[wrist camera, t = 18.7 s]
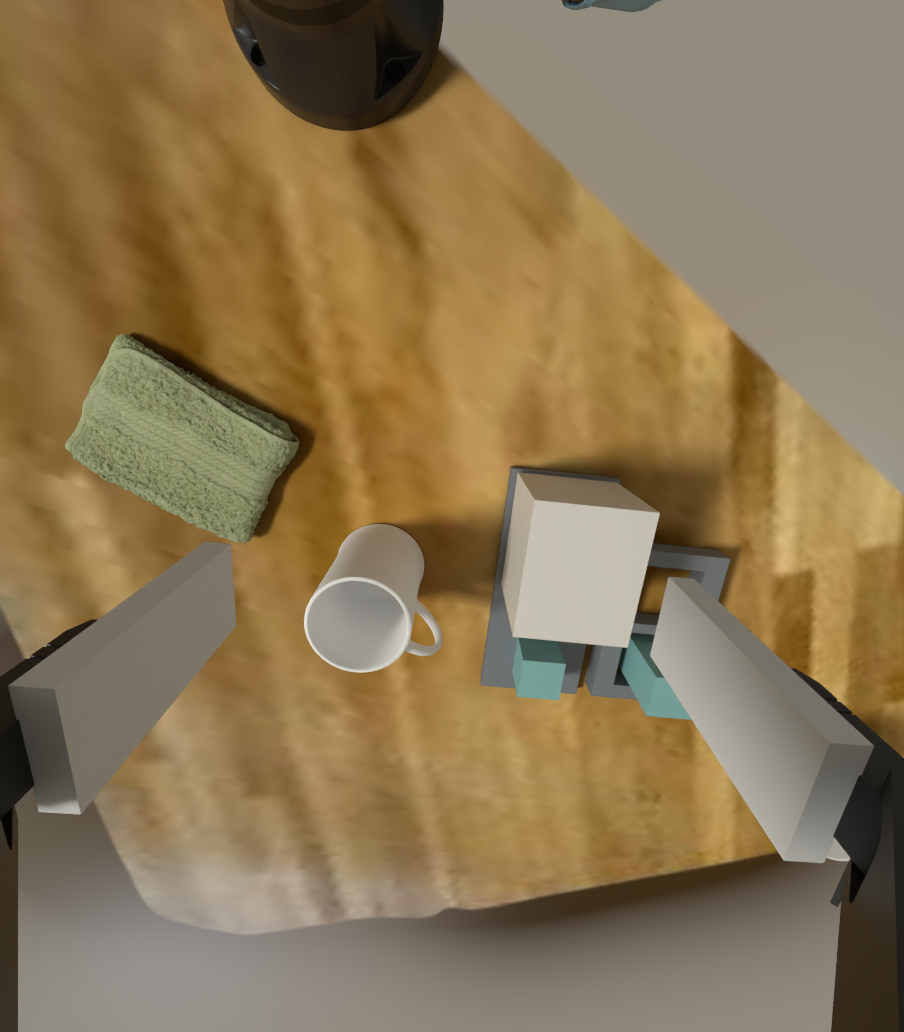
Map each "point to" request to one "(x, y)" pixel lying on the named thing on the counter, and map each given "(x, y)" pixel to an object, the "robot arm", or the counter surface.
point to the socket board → (704, 569)
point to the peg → (649, 679)
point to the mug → (370, 602)
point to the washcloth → (180, 441)
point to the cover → (576, 559)
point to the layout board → (528, 660)
